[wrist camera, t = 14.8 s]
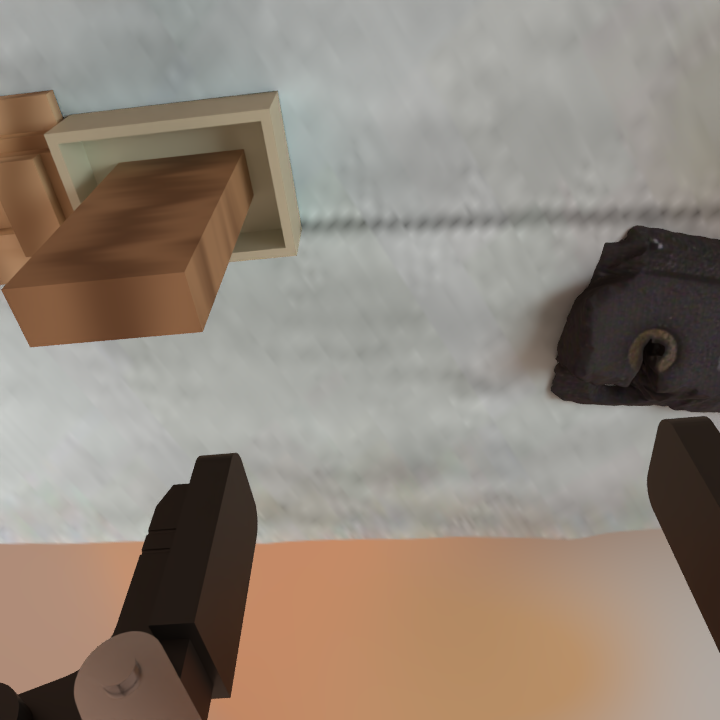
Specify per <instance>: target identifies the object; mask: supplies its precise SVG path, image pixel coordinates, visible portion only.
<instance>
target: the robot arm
mask: <svg viewBox="0 0 720 720" xmlns="http://www.w3.org/2000/svg"><path fill="white" fill-rule="evenodd" d="M647 488H648V495H649V499H650V503H651V506H652V508H653V511H654V513H655V515H656V517H657V519H658V521H659V524H660V526H661V528H662V530H663V532H664V534H665V536H666V539H667V541H668V543H669V545H670V547H671V549H672V551H673V553H674V556H675V558H676V560H677V562H678V564H679V566H680V569H681V571H682V573H683V575H684V577H685V579H686V581H687V584H688V586H689V588H690V590H691V592H692V594H693V596H694V598H695V601H696V603H697V605H698V607H699V609H700V611H701V614H702V616H703V618H704V620H705V622H706V624H707V626H708V629H709V631H710V633H711V635H712V637H713V639H714V641H715V644H716V646H717V648H718V650H719V652H720V433H719V431H718V430H717V428H716V427H715V425H714V424H713V422H712V421H711V420H710V419H709V418H708V417H705V416H700V417H688V418H675V419H664V420H662V421H661V422H660V423H659V426H658V429H657V434H656V439H655V443H654V448H653V452H652V457H651V462H650V466H649V471H648V476H647ZM148 531H149V534H148V535H147V536H146V539H145V542H144V545H143V548H142V555H140V557H139V560H138V563H137V566H136V569H135V572H134V575H133V578H132V581H131V584H130V587H129V590H128V593H127V596H126V599H125V602H124V605H123V608H122V611H121V614H120V617H119V620H118V623H117V626H116V628H115V630H114V633H113V635H112V637H111V638H110V639H108V640H106V641H105V642H103V643H102V644H101V645H99V646H98V647H97V648H96V649H95V650H94V651H93V652H92V653H91V654H90V655H89V656H88V657H87V659H86V660H85V661H84V663H83V664H82V666H81V668H80V669H79V670H78V671H76V672H74V673H72V674H70V675H68V676H66V677H63V678H61V679H58V680H56V681H53V682H50V683H48V684H45V685H42V686H40V687H37V688H35V689H32V690H29V691H26V692H24V693H21V694H19V695H17V694H16V692H15V691H14V690H13V689H12V688H11V687H9V686H8V685H6V684H3V683H0V720H207V718H208V712H209V707H210V702H211V699H216V698H230V697H231V691H232V685H233V679H234V672H235V666H236V659H237V654H238V648H239V641H240V636H241V629H242V623H243V617H244V611H245V605H246V599H247V593H248V586H249V580H250V574H251V568H252V562H253V556H254V550H255V544H256V538H257V510H256V505H255V501H254V498H253V495H252V492H251V489H250V486H249V482H248V479H247V476H246V473H245V470H244V467H243V463H242V460H241V458H240V456H239V454H238V453H229V454H216V455H204V456H199V457H198V458H197V460H196V463H195V466H194V469H193V473H192V476H191V479H190V483H189V484H178V485H173V486H172V487H171V489H170V490H169V491H168V492H167V494H166V495H165V496H164V497H163V499H162V500H161V501H160V502H159V504H158V505H157V506H156V508H155V511H154V514H153V517H152V520H151V524H150V527H149V530H148Z"/></svg>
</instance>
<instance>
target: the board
mask: <svg viewBox="0 0 720 720" xmlns="http://www.w3.org/2000/svg"><path fill="white" fill-rule="evenodd" d="M253 196H254V194H253V189H252V184H251V180H250V175H249V170H248V166H247V161H246V157H245V152H244V149H240V150H230V151H221V152H212V153H203V154H194V155H185V156H175V157H166V158H157V159H148V160H139V161H130V162H120V163H118V164H117V165H116V166H115V167H114V169H113V170H112V171H111V172H110V173H109V174H108V175H107V176H106V177H105V178H104V179H103V180H102V181H101V183H100V184H99V185H98V186H97V187H96V188H95V189H94V190H93V191H92V192H91V193H90V194H89V196H88V197H87V198H86V199H85V200H84V201H83V202H82V203H81V204H80V205H79V206H78V207H77V208H76V210H75V211H74V212H73V213H72V214H71V215H70V216H69V217H68V218H67V219H66V220H65V221H64V223H63V224H62V225H61V226H60V227H59V228H58V229H57V230H56V231H55V232H54V233H53V234H52V235H51V237H50V238H49V239H48V240H47V241H46V242H45V243H44V244H43V245H42V246H41V247H40V248H39V249H38V251H37V252H36V253H35V254H34V255H33V256H32V257H31V258H30V259H29V260H28V261H27V262H26V264H25V265H24V266H23V267H22V268H21V269H20V270H19V271H18V272H17V273H16V274H15V275H14V276H13V278H12V279H11V280H10V281H9V282H8V283H7V284H6V285H5V286H4V287H3V288H2V289H1V290H2V292H3V294H4V296H5V298H6V300H7V302H8V304H9V306H10V308H11V310H12V312H13V314H14V316H15V318H16V320H17V322H18V324H19V326H20V328H21V330H22V332H23V334H24V336H25V338H26V340H27V342H28V344H29V346H30V347H38V346H49V345H60V344H72V343H83V342H94V341H105V340H117V339H128V338H139V337H150V336H162V335H173V334H184V333H195V332H203V330H204V327H205V324H206V322H207V319H208V316H209V314H210V311H211V308H212V306H213V303H214V300H215V298H216V295H217V292H218V290H219V287H220V284H221V282H222V279H223V276H224V274H225V271H226V268H227V266H228V263H229V260H230V258H231V255H232V252H233V250H234V247H235V244H236V242H237V239H238V236H239V234H240V231H241V228H242V226H243V223H244V220H245V218H246V215H247V212H248V210H249V207H250V204H251V202H252V199H253Z"/></svg>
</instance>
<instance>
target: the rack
mask: <svg viewBox="0 0 720 720" xmlns="http://www.w3.org/2000/svg"><path fill="white" fill-rule="evenodd" d="M62 120H64V119H63V117H62V114H61V111H60V109H59V106H58V103H57V101H56V98H55V95H54V93H53V90H50V91H41V92H33V93H25V94H16V95H8V96H0V285H2V284H7V283H8V282H9V281H10V280H11V279H12V278H13V276H14V275H15V274H16V273H17V272H18V271H19V270H20V269H21V268H22V267H23V266H24V265H25V264H26V262H27V261H28V260H29V259H30V258H31V257H32V256H33V255H34V254H35V253H36V252H37V251H38V249H39V248H40V247H41V246H42V245H43V244H44V243H45V242H46V241H47V240H48V239H49V238H50V237H51V235H52V234H53V233H54V232H55V231H56V230H57V229H58V228H59V227H60V226H61V225H62V224H63V223H64V221H65V220H66V219H67V218H68V217H69V216H70V215H71V214H72V213H73V212H74V210H73V208H72V205H71V203H70V200H69V198H68V195H67V193H66V190H65V187H64V185H63V182H62V180H61V177H60V175H59V172H58V170H57V167H56V165H55V162H54V160H53V157H52V155H51V152H50V149H49V147H48V144H47V142H46V139H45V137H44V134H45V133H46V132H48V131H49V130H50V129H52V128H53V127H54V126H56V125H57V124H58V123H60V122H61V121H62Z"/></svg>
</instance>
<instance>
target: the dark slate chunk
mask: <svg viewBox="0 0 720 720" xmlns="http://www.w3.org/2000/svg"><path fill="white" fill-rule="evenodd" d="M557 350H558V357H557V358H556V360H557V361H558V362H559V363H558V364H557V366H556V368H555V370H554V372H555V373H556V376H555V378H554V380H553V386H552V387H551V391H552V392H553V393H554V394H555V395H557V396H558V397H559V398H561V399H562V400H564V401H573V402H576V403H580V404H597V405H613V406H617V405H627V406H650V405H660V406H669V407H670V408H671V409H673V410H686V411H690V412H719V413H720V240H718V239H710V238H706V237H701V236H692V235H686V234H683V233H674V232H671V231H667V230H664V229H659V228H648V227H644V226H635V227H633V228H632V229H631V230H630V231H629V232H628V237H627V238H626V239H625V240H621V241H620V242H615V243H605V244H604V247H603V251H602V254H601V257H600V260H599V262H598V264H597V266H596V269H595V271H594V274H593V277H592V279H591V282H590V284H589V286H588V287H587V288H586V289H585V290H584V292H583V293H582V294H581V295H580V296H578V298H577V299H576V300H575V302H574V304H573V306H572V309H571V311H570V313H569V315H568V317H567V321H566V324H565V327H564V330H563V332H562V335H561V337H560V340H559V342H558V347H557ZM604 384H614V385H616V386H607V385H604Z"/></svg>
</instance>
